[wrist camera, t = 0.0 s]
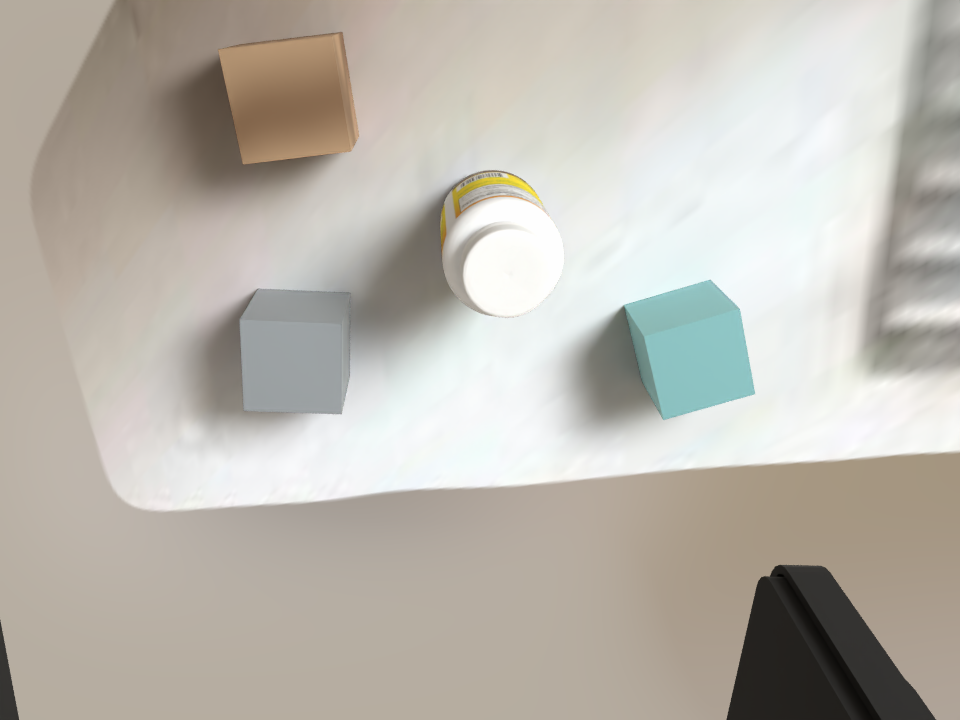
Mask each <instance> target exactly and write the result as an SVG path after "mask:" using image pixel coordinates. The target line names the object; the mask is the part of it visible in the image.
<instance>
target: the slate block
mask: <svg viewBox="0 0 960 720" xmlns="http://www.w3.org/2000/svg"><path fill="white" fill-rule="evenodd" d="M240 341H241V363H242V384H243V406H244V411H260V412H290V413H321V414H342V410H343V405H344V401H345V396H346V391H347V386H348V382H349V377H350V293H342V292H319V291H297V290H274V289H257V291H256V293H255V295H254V296H253V298H252V300H251V301H250V303H249V305H248V306H247V308H246V310H245V311H244V313H243V315H242V316H241V318H240Z"/></svg>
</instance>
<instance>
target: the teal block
mask: <svg viewBox="0 0 960 720" xmlns="http://www.w3.org/2000/svg"><path fill="white" fill-rule="evenodd" d="M624 308H625V312H626V316H627V320H628V324H629V329H630V333H631V337H632V341H633V345H634V350H635V354H636V358H637V362H638V366H639V371H640V375H641V379H642V383H643V384H644V386H645V388H646V390H647V392H648V393H649V395H650V397H651V399H652V400H653V402H654V404H655V406H656V408H657V409H658V411H659V413H660V415H661V417H662V418H663V420H665V419H669V418H672V417H676V416H679V415H683V414H686V413H690V412H693V411H697V410H701V409H704V408H708V407H711V406H715V405H718V404H722V403H725V402H729V401H732V400H736V399H739V398H743V397H746V396H750V395H754V394H755V391H754V385H753V379H752V374H751V368H750V363H749V357H748V352H747V346H746V341H745V335H744V330H743V324H742V319H741V313H740V309H739V308H738V307H737V306H736V305H735V304H734V303H733V302H732V301H731V300H730V299H729V298H728V297H727V296H726V295H725V294H724V293H723V292H722V291H721V290H720V289H719V288H718V287H717V286H716V285H715V284H714V283H713V282H712V281H711V280H708V281H704V282H701V283H698V284H694V285H691V286H687V287H684V288H681V289H677V290H674V291H670V292H667V293H663V294H660V295H657V296H653V297H650V298H646V299H643V300H639V301H636V302H633V303H629V304H626V305H624Z"/></svg>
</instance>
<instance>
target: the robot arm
mask: <svg viewBox="0 0 960 720" xmlns="http://www.w3.org/2000/svg"><path fill="white" fill-rule="evenodd" d="M0 720H19V717H18V712H17V707H16V701H15V696H14V690H13V686H12V680H11V675H10V669H9V664H8V659H7V653H6V648H5V643H4V638H3V633H2V627H1V622H0ZM727 720H936V719H935V718H934V716H933V715H932V713H931V712H930V711H929V709H928V708H927V706H926V705H925V703H924V702H923V701H922V699H921V698H920V696H919V695H918V694H917V692H916V691H915V689H914V688H913V687H912V686H911V685H910V684H909V683H908V682H907V681H906V680H905V679H904V677H903V676H902V674H901V673H900V672H899V670H898V669H897V667H896V666H895V665H894V663H893V662H892V660H891V659H890V657H889V656H888V654H887V653H886V652H885V650H884V649H883V647H882V646H881V645H880V643H879V642H878V640H877V639H876V637H875V636H874V634H873V633H872V632H871V630H870V629H869V627H868V626H867V625H866V623H865V622H864V620H863V619H862V617H861V616H860V614H859V613H858V612H857V610H856V609H855V607H854V606H853V605H852V603H851V602H850V600H849V599H848V597H847V596H846V595H845V593H844V592H843V590H842V589H841V587H840V586H839V585H838V583H837V582H836V580H835V579H834V578H833V576H832V575H831V573H830V572H829V571H828V570H827V569H826V568H825V567H822V566H802V565H800V566H799V565H778V566H776V567H775V568H774V569H773V571H772V573H771V575H770V577H766V576H764V577H761V578H760V580H759V581H758V584H757V587H756V592H755V596H754V601H753V605H752V609H751V614H750V618H749V623H748V628H747V631H746V636H745V640H744V645H743V649H742V654H741V658H740V662H739V667H738V671H737V676H736V680H735V684H734V689H733V693H732V698H731V702H730V707H729V711H728V716H727Z"/></svg>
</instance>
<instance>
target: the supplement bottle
mask: <svg viewBox="0 0 960 720" xmlns="http://www.w3.org/2000/svg"><path fill="white" fill-rule="evenodd" d="M440 232H441V250H442V263H443V269H444V274H445V277H446V280H447V282H448V284H449V286H450V288H451V290H452V291H453V293H454V294H455V295H456V296H457V297H458V298H459V300H460V301H462V302H463V303H464V304H465V305H467V306H468V307H470V308H471V309H473V310H475V311H477V312H479V313H482V314H485V315H489V316H496V317H504V318H510V317H517V316H521V315H524V314H526V313H528V312H530V311H532V310H533V309H535V308H536V307H537V306H538V305H539V304H541V303H542V302H543V301H544V300H545V299H546V298H547V297H548V296H549V295H550V293H551V292H552V291H553V289H554V288H555V286H556V284H557V282H558V280H559V278H560V275H561V272H562V268H563V260H564V251H563V244H562V240H561V237H560V235H559V232H558V230H557V228H556V226H555V224H554V223H553V221H552V219H551V218H550V216H549V214H548V213H547V211H546V209H545V208H544V206H543V204H542V202H541V201H540V199H539V197H538V196H537V194H536V193H535V191H534V190H533V189H532V188H531V186H529V185H528V184H527V183H526V182H525V181H524V180H522V179H521V178H519V177H518V176H516V175H514V174H511V173H508V172H505V171H499V170H486V171H481V172H477V173H474V174H471V175H469V176H468V177H466V178H464V179H463V180H461V181H460V182H459V183H458V184H457V185H455V186H454V188H453V189H452V190H451V191H450V193H449V194H448V196H447V197H446V199H445V202H444V204H443V207H442V210H441V216H440Z"/></svg>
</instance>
